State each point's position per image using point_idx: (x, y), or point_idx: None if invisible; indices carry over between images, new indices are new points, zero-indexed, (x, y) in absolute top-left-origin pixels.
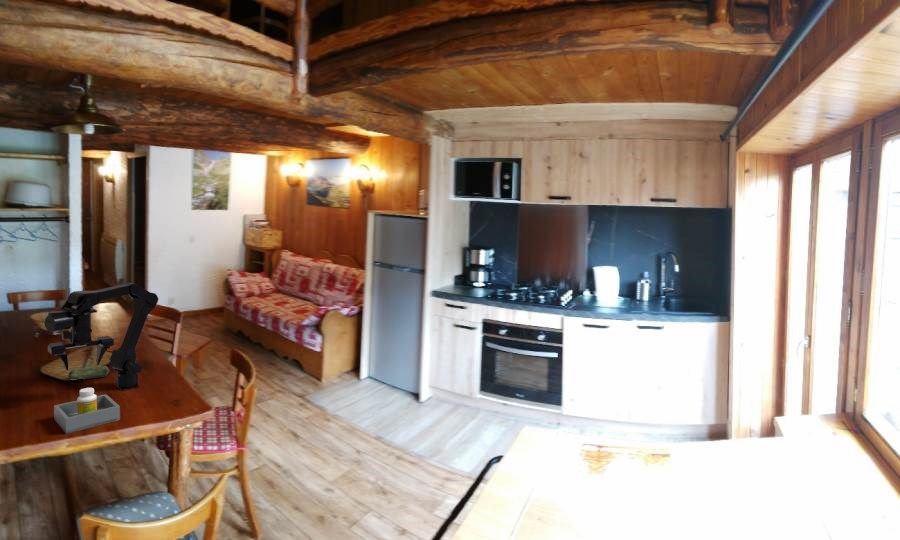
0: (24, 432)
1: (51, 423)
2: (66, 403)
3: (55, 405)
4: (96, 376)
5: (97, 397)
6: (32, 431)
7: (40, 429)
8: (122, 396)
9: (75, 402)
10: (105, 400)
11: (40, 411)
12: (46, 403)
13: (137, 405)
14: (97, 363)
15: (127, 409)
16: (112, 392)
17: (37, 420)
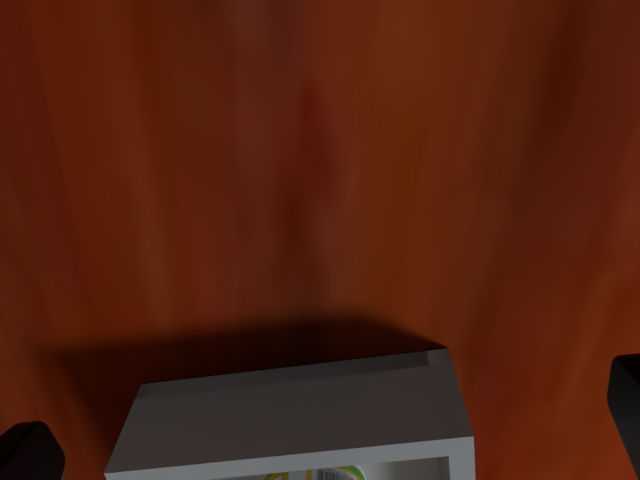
0: None
1: None
2: (185, 474)
3: (114, 477)
4: None
5: (400, 457)
6: None
7: (91, 463)
8: (628, 188)
9: (245, 472)
10: (445, 459)
11: (17, 202)
12: (14, 18)
13: None
14: (626, 450)
15: (544, 431)
16: (607, 19)
17: (43, 350)
